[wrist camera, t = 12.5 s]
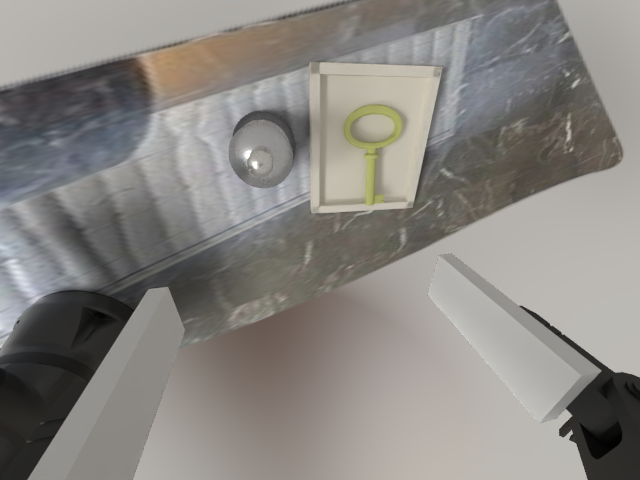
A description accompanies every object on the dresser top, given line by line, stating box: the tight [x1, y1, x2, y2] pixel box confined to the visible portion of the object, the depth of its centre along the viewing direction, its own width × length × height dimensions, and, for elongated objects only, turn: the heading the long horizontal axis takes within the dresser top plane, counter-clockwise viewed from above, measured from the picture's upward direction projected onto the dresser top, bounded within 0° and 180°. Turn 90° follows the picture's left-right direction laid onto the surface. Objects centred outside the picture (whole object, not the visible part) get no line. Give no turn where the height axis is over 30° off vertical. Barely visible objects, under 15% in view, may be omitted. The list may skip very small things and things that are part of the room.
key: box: [344, 104, 403, 205], centre depth 31 cm, size 7×12×2 cm, turn 20°
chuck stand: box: [229, 111, 295, 188], centre depth 24 cm, size 7×7×12 cm
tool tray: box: [309, 62, 443, 214], centre depth 31 cm, size 15×17×2 cm
